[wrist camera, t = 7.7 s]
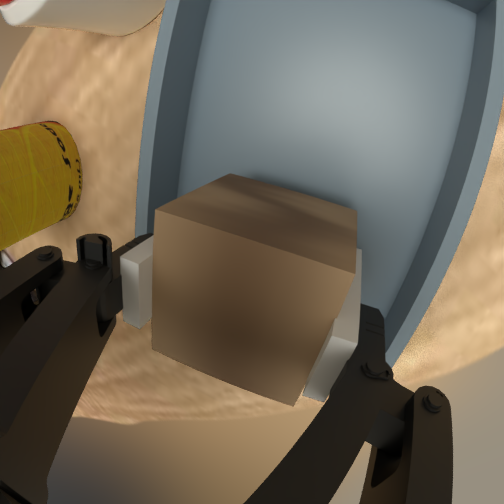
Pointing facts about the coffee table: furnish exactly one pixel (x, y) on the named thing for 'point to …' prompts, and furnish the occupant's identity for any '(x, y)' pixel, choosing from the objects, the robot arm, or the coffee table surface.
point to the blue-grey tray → (335, 122)
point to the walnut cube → (250, 282)
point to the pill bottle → (83, 14)
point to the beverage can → (36, 179)
